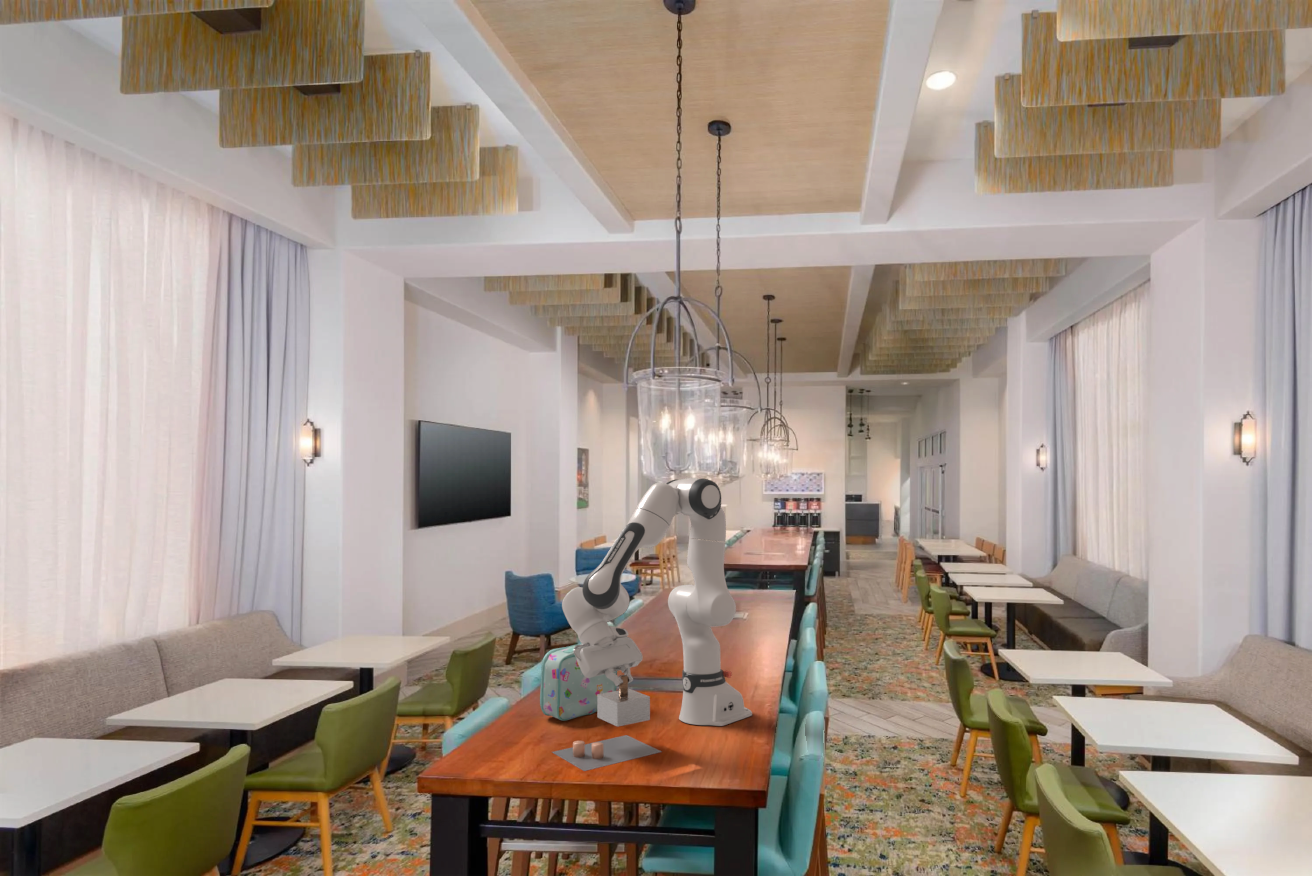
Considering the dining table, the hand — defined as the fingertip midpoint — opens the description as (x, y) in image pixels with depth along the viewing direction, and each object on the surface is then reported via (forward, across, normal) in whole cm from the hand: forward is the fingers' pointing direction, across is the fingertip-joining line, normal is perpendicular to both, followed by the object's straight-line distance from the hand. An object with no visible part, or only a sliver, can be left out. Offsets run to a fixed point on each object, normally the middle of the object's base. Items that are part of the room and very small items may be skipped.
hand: (625, 683), depth 211 cm
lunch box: (-13, +18, +38) cm, 44 cm away
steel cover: (+6, 0, +7) cm, 9 cm away
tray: (+11, -5, +14) cm, 19 cm away
